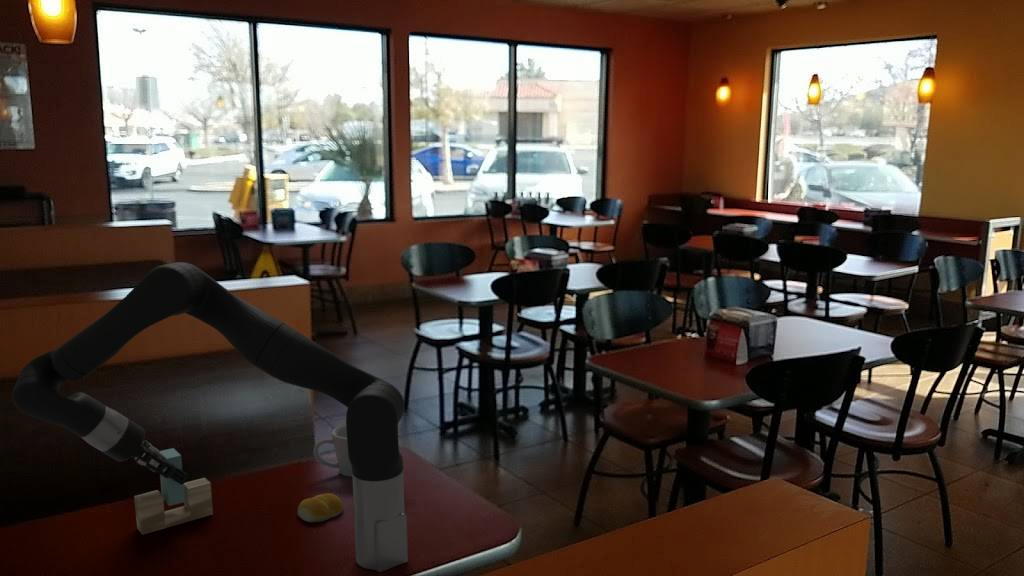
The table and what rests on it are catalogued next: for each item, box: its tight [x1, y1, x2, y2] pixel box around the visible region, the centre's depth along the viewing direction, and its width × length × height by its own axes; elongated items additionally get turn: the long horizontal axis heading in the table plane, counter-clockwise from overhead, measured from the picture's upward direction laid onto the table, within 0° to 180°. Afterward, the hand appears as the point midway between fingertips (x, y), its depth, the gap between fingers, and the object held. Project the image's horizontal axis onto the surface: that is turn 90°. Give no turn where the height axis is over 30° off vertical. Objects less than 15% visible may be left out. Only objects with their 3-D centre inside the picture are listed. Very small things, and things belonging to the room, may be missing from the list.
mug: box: [312, 424, 353, 478], centre depth 190 cm, size 10×15×10 cm
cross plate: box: [159, 447, 185, 507], centre depth 165 cm, size 5×3×10 cm, turn 39°
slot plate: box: [133, 477, 214, 535], centre depth 166 cm, size 4×14×7 cm, turn 129°
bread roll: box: [297, 492, 344, 523], centre depth 170 cm, size 8×9×4 cm
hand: (180, 475), depth 166 cm, fingers closed on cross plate, 5 cm apart
